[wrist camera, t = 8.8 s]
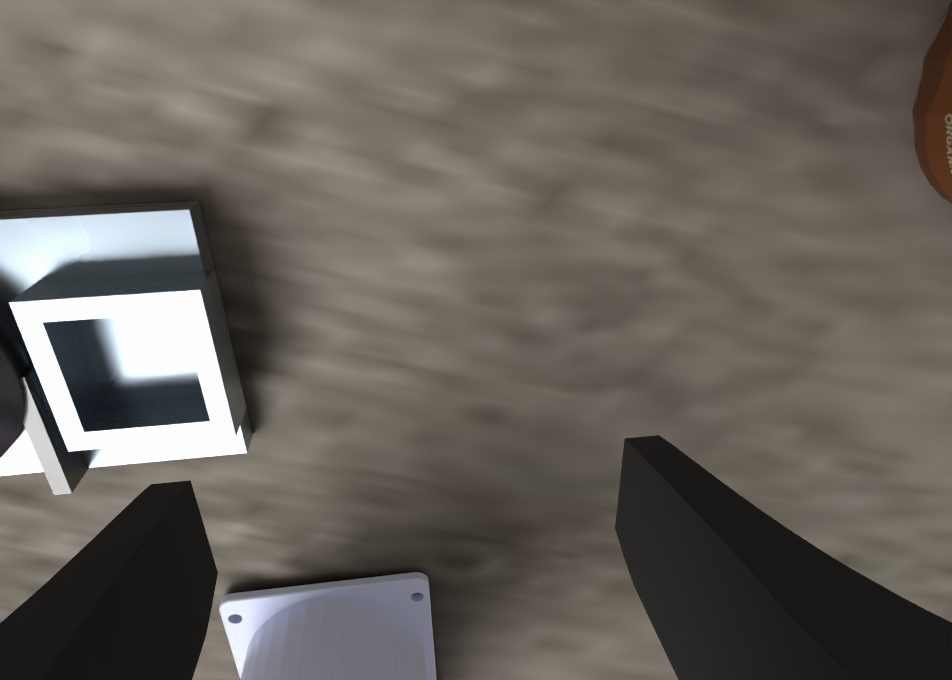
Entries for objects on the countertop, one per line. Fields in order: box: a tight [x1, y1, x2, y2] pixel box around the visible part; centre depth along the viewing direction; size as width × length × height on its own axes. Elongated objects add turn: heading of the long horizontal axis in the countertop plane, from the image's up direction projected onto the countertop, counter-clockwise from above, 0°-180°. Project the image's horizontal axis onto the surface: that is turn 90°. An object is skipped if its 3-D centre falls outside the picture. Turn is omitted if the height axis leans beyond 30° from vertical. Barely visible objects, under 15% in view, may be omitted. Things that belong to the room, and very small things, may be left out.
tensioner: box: [0, 200, 253, 495], centre depth 17 cm, size 8×11×2 cm
